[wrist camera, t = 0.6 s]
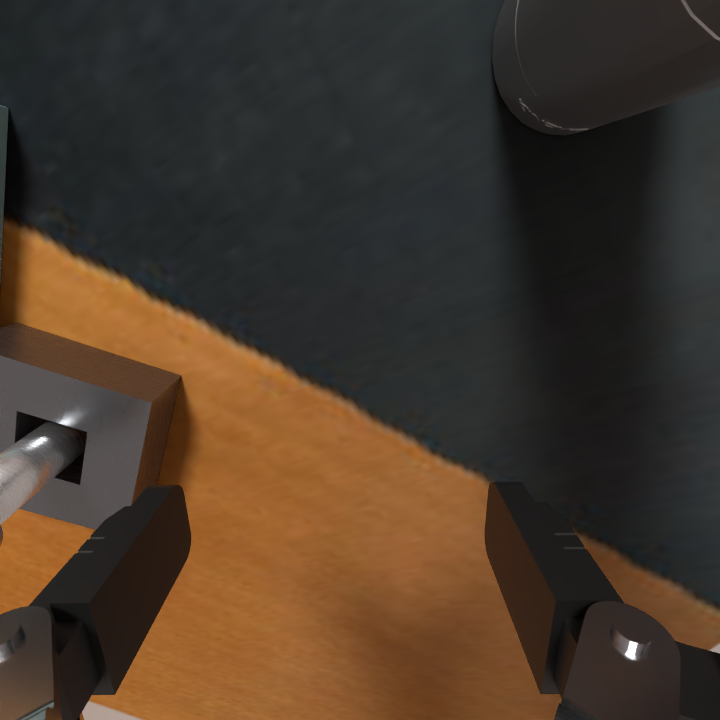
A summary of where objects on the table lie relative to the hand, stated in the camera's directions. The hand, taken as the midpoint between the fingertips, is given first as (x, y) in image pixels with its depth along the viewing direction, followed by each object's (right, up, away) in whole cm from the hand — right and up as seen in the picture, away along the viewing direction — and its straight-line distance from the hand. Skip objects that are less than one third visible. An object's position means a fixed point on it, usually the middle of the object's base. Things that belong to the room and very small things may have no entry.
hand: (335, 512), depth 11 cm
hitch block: (-21, 0, +21) cm, 30 cm away
